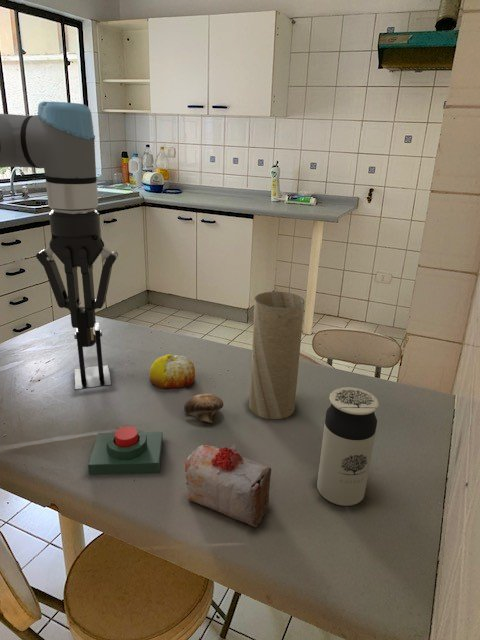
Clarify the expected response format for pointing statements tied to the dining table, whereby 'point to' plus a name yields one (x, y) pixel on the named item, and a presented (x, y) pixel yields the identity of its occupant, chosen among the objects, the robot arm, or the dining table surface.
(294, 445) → the dining table surface
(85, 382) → the bracket
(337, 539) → the dining table surface
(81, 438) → the dining table surface
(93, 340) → the lever
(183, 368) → the fruit
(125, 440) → the button
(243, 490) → the food item
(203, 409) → the mushroom
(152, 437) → the button box
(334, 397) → the travel mug
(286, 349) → the tube
